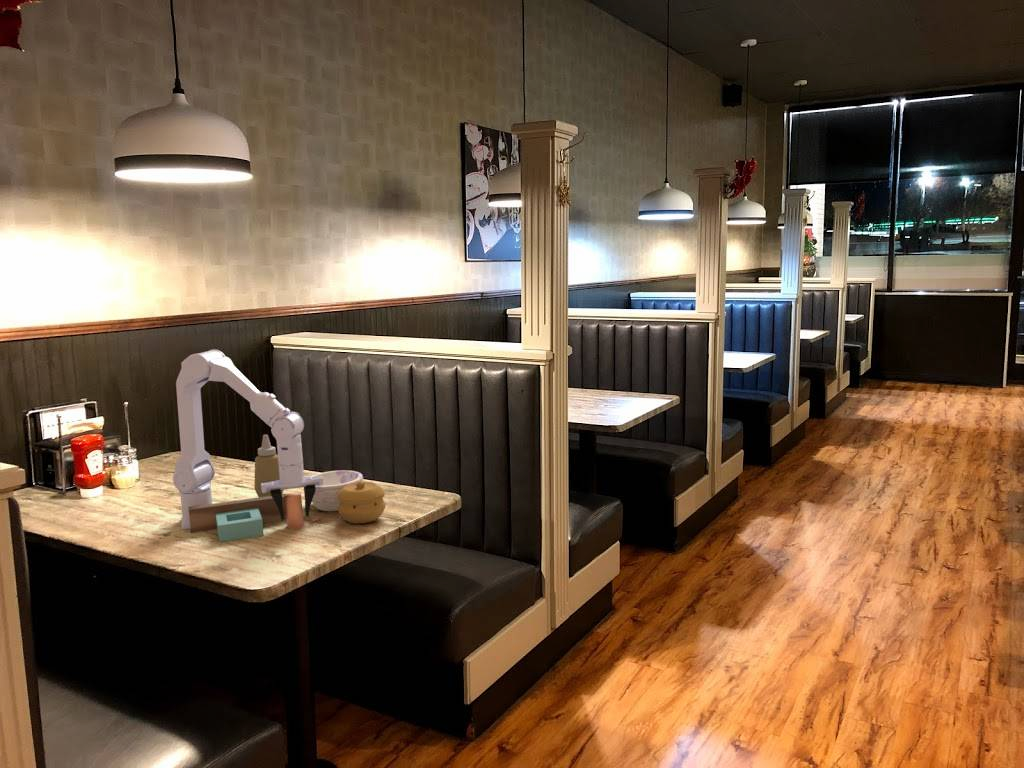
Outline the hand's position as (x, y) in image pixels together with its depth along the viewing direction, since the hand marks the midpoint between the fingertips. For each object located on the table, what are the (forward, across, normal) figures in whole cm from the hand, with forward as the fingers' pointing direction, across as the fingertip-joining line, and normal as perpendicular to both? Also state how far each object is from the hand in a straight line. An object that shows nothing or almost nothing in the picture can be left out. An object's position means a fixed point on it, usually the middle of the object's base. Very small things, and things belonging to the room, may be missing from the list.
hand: (294, 517), depth 206 cm
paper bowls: (+3, -12, -12) cm, 17 cm away
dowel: (+2, 0, 0) cm, 2 cm away
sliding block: (+2, +13, -1) cm, 13 cm away
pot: (+3, -16, +2) cm, 16 cm away
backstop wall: (+2, +12, -7) cm, 14 cm away
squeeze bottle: (+3, +4, -27) cm, 27 cm away
